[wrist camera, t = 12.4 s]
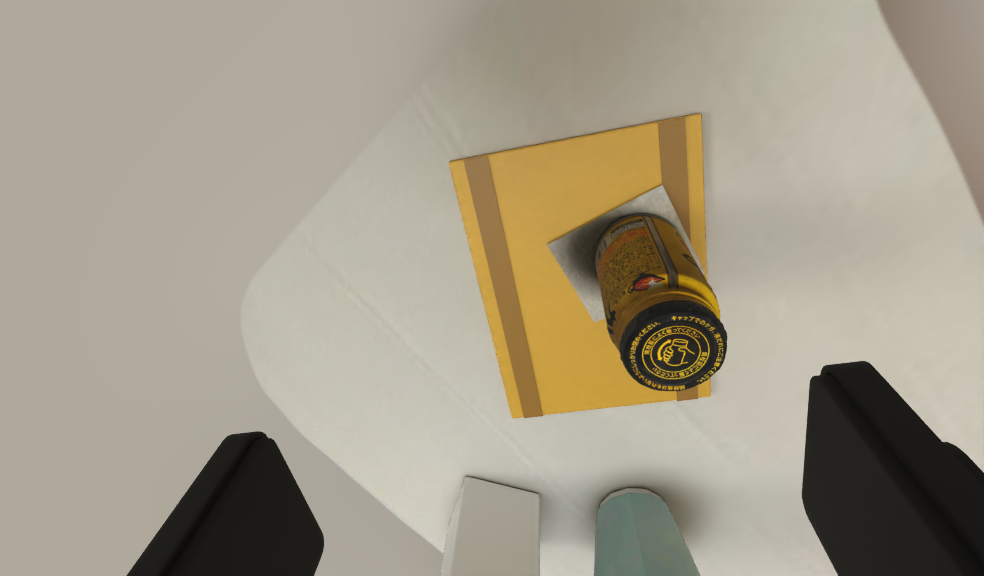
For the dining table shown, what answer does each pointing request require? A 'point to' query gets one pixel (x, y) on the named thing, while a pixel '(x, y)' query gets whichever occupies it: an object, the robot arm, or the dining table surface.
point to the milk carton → (493, 532)
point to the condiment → (647, 292)
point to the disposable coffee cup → (639, 537)
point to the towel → (538, 276)
